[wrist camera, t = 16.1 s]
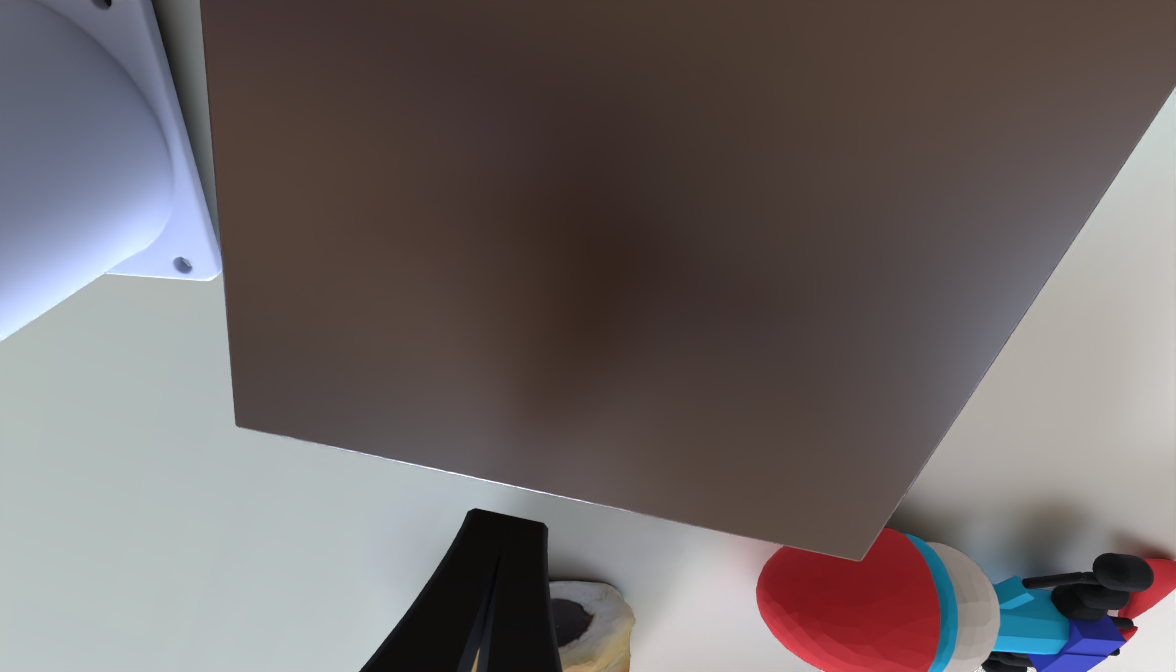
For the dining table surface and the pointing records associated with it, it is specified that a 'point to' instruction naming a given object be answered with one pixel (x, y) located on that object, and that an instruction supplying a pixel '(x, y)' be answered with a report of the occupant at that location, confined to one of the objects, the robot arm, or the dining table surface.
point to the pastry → (590, 627)
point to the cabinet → (658, 232)
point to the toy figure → (951, 609)
